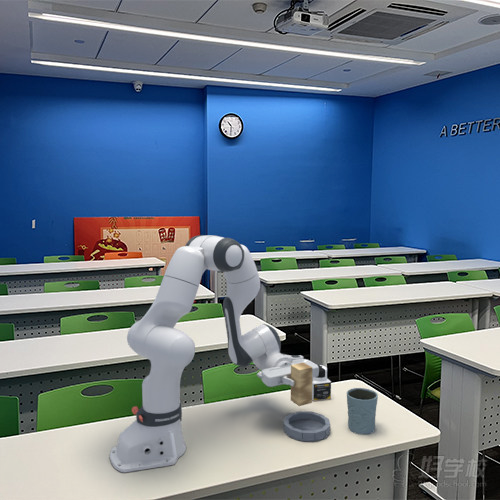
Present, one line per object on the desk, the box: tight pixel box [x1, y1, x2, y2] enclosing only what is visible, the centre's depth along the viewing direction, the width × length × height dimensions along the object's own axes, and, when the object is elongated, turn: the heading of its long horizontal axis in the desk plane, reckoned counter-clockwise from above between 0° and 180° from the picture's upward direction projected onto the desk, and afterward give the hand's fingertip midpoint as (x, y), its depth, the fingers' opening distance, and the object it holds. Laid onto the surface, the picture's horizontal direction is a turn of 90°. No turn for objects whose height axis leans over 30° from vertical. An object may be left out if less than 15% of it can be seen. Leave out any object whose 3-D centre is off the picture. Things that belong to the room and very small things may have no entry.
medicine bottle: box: [312, 364, 332, 402], centre depth 187 cm, size 7×7×12 cm
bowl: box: [283, 410, 331, 443], centre depth 162 cm, size 15×15×3 cm
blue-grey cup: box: [346, 387, 379, 435], centre depth 163 cm, size 10×10×12 cm
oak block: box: [290, 363, 313, 407], centre depth 159 cm, size 5×5×12 cm
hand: (303, 381), depth 158 cm, fingers closed on oak block, 5 cm apart
